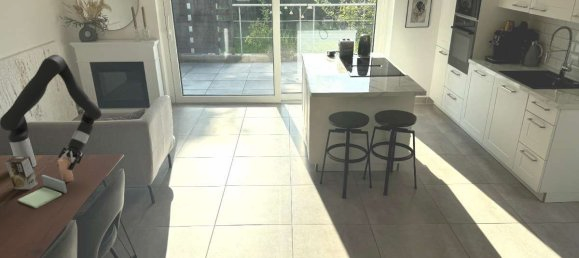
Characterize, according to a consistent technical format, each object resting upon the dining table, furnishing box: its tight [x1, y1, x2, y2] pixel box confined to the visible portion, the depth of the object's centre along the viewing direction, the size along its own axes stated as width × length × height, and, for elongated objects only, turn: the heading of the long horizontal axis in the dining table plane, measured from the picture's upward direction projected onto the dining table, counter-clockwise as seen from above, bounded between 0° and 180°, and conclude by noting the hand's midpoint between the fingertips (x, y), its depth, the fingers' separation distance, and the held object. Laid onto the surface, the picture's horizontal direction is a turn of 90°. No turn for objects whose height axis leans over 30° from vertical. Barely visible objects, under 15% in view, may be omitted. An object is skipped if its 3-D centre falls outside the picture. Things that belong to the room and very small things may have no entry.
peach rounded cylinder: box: [57, 157, 74, 183], centre depth 208 cm, size 5×5×12 cm
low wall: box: [41, 174, 68, 194], centre depth 201 cm, size 17×1×6 cm, turn 63°
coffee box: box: [5, 155, 39, 190], centre depth 201 cm, size 9×6×16 cm
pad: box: [17, 186, 62, 209], centre depth 193 cm, size 14×13×1 cm
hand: (64, 168), depth 207 cm, fingers open, 8 cm apart
